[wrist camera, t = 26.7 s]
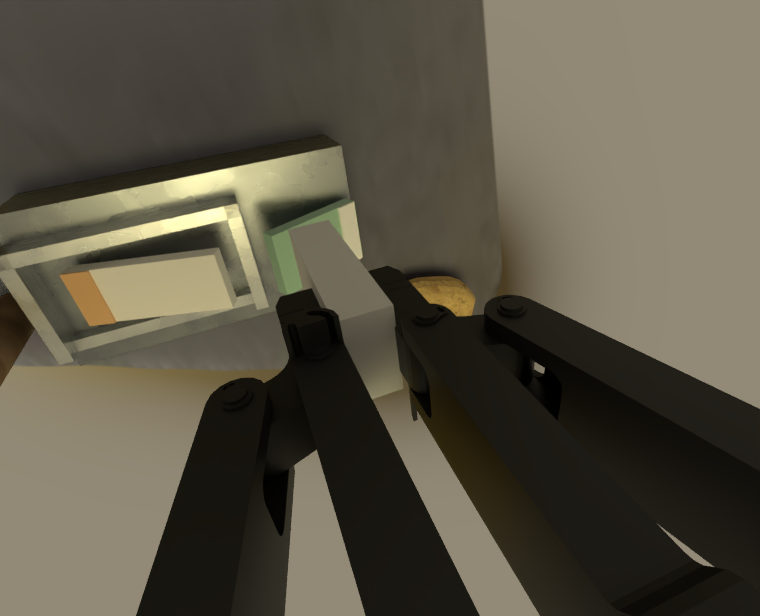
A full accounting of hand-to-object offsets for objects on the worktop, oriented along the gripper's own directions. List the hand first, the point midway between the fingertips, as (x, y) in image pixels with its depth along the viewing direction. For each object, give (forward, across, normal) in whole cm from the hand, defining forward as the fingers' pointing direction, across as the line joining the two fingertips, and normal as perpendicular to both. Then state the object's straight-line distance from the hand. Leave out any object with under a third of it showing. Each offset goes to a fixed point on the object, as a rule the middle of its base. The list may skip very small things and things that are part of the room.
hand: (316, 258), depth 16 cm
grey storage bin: (+26, -6, -7) cm, 28 cm away
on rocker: (+17, +2, -7) cm, 19 cm away
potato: (+27, +14, -20) cm, 36 cm away
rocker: (+17, -10, -7) cm, 21 cm away
